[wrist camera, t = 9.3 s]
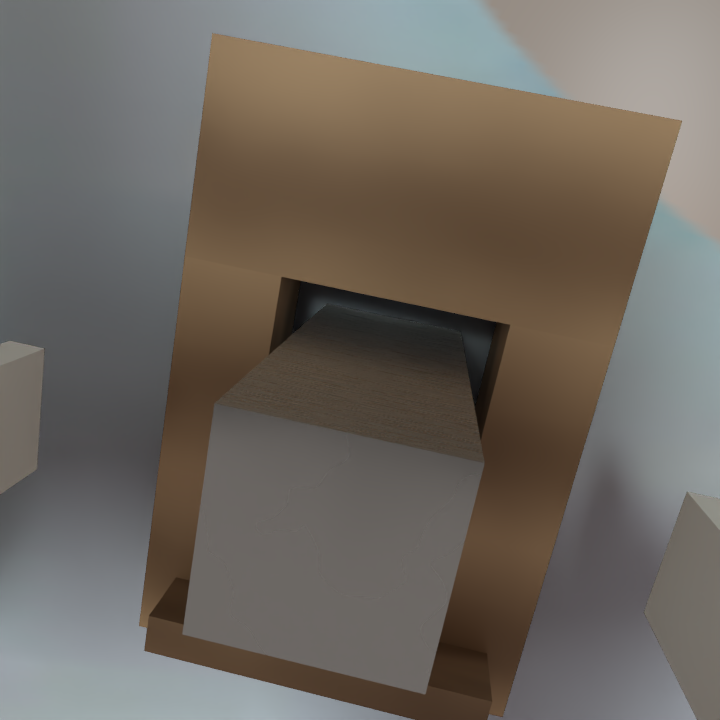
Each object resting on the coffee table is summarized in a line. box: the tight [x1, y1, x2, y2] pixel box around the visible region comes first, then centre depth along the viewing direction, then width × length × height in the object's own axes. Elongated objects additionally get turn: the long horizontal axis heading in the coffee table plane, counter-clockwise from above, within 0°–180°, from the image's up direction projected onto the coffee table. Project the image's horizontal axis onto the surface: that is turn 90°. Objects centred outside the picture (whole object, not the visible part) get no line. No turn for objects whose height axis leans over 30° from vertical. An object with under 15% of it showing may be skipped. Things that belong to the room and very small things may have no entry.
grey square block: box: [182, 304, 485, 694], centre depth 16 cm, size 4×4×11 cm
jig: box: [139, 33, 682, 720], centre depth 19 cm, size 18×12×5 cm, turn 169°
